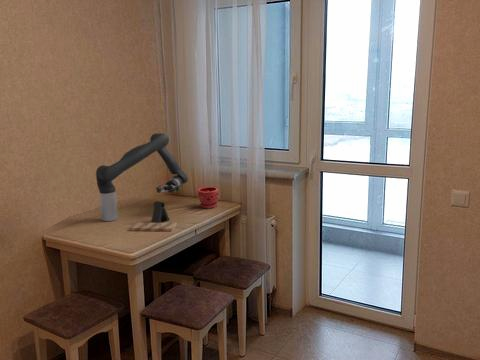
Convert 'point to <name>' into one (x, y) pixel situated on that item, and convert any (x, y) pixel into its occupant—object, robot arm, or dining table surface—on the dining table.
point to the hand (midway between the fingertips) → (164, 191)
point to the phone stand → (159, 213)
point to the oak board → (153, 226)
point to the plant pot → (208, 197)
